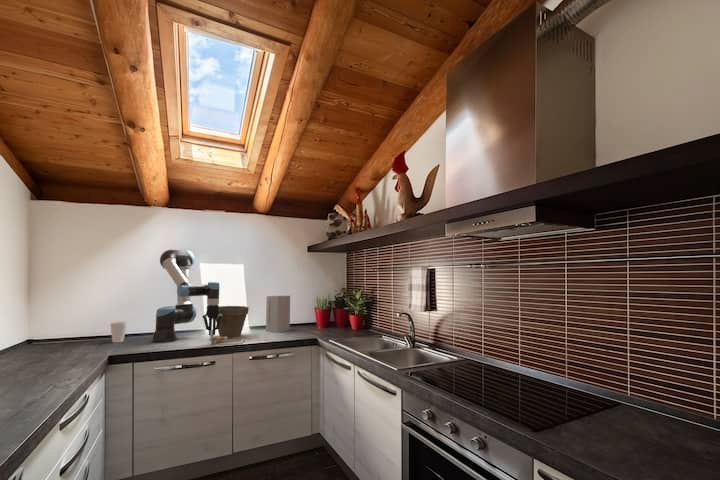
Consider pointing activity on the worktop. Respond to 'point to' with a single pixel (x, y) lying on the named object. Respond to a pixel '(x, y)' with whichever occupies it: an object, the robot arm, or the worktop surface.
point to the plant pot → (231, 320)
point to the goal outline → (232, 343)
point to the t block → (218, 340)
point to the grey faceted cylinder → (277, 313)
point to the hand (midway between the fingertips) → (211, 340)
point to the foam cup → (118, 331)
